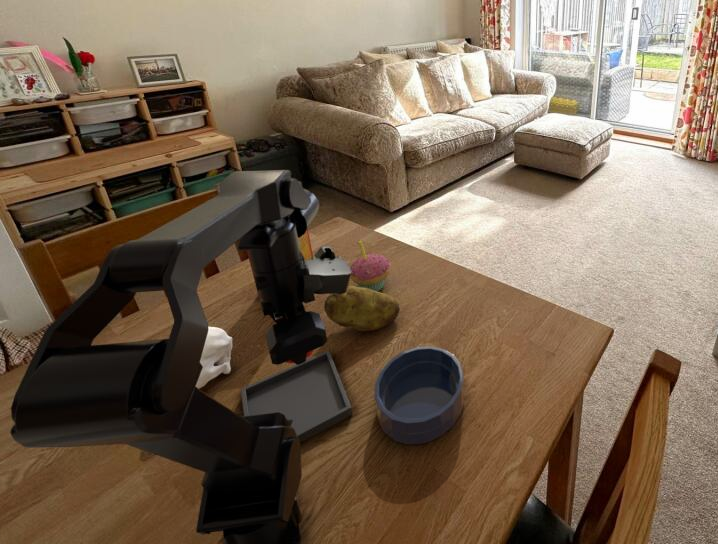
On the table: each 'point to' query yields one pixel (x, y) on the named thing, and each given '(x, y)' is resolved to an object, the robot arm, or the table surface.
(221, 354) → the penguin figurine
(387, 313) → the potato
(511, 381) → the table surface
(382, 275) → the cupcake
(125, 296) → the robot arm
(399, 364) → the bowl
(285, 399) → the tray
